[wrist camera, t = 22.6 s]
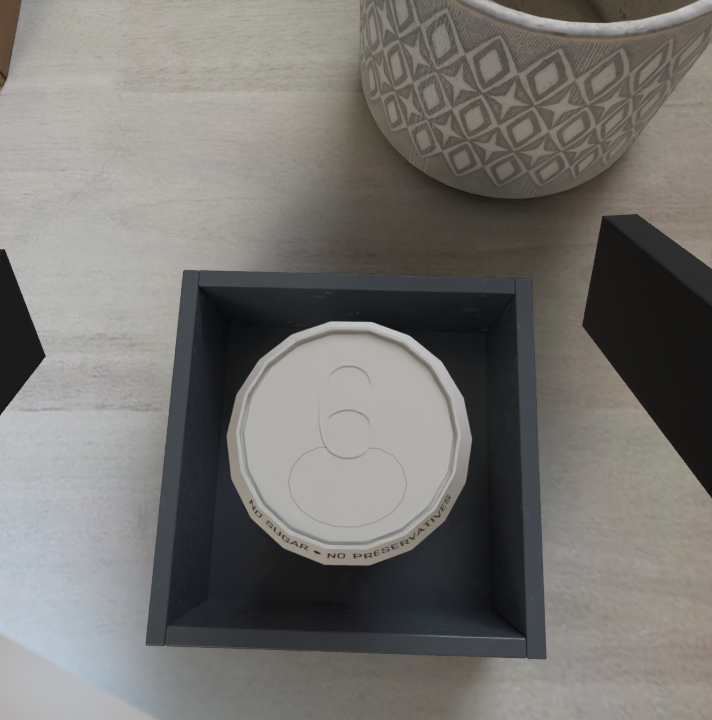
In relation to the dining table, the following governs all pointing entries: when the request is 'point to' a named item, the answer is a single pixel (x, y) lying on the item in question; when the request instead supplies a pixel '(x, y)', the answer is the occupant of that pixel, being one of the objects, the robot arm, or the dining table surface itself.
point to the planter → (523, 84)
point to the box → (7, 33)
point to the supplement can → (349, 443)
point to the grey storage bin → (353, 582)
